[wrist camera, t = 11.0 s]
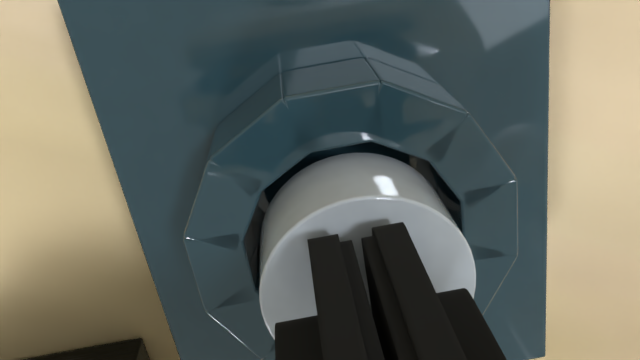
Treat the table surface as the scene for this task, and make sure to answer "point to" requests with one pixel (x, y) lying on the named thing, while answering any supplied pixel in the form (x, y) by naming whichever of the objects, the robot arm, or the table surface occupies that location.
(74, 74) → the table surface
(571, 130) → the table surface
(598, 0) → the table surface
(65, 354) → the dial plate
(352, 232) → the light grey short cylinder
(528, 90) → the push button box
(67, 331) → the table surface
